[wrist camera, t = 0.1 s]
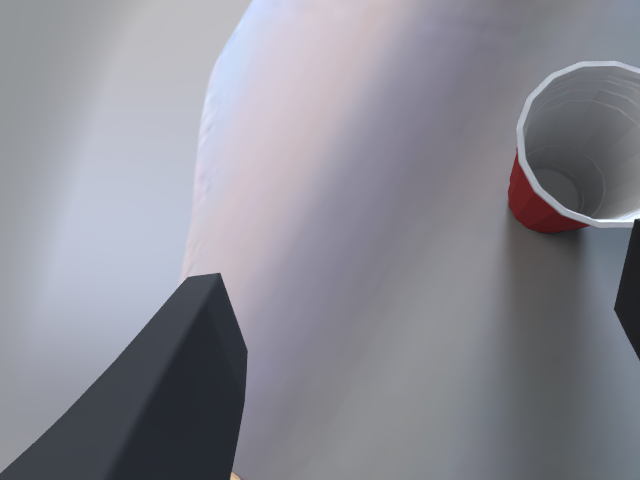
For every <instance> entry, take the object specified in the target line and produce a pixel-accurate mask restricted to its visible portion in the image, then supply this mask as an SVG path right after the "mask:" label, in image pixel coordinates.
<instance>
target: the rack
mask: <svg viewBox="0 0 640 480" xmlns="http://www.w3.org/2000/svg"><path fill="white" fill-rule="evenodd" d="M230 480H241V479H240V478H239V477H238V476H237V475H235V474H234V473H233V472H231V477H230Z"/></svg>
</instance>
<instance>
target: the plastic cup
mask: <svg viewBox="0 0 640 480" xmlns="http://www.w3.org/2000/svg"><path fill="white" fill-rule="evenodd" d="M516 136H517V149H516V150H517V154H516V157H515V161H514V165H513V169H512V173H511V176H510V186H509V189H508V198H509V206H510V209H511V211H512V212H513V214H514V216H515V218H516V219H517V220H518V221H519V222H520V223H522V224H523V225H524V226H525V227H526V228H529V229H532V230H535V231H538V232H542V233H556V232H561V231H565V230H574V229H578V228H583V227H587V226H593V227H596V228H633V224H634V220H635V219H638V218H640V69H639V68H636V67H633V66H630V65H627V64H624V63H621V62H618V61H591V62H579V63H577V64H574V65H572V66H569V67H567V68H565V69H562V70H560V71H557V72H555V73H552V74H550V75H549V76H548V77H547V78H546V79H545V80H544V81H543V82H542V83H541V84H540V85H539V86H538V87H537V88H536V89H535V90H534V91H533V92H532V93H531V94H530V95H529V96H528V97H527V100H526V103H525V105H524V108H523V111H522V114H521V116H520V119H519V122H518V124H517V127H516Z"/></svg>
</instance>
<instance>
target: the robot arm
mask: <svg viewBox="0 0 640 480" xmlns="http://www.w3.org/2000/svg"><path fill="white" fill-rule="evenodd" d="M614 310H615V312H616V314H617V316H618V318H619V320H620V323H621V325H622V327H623V329H624V331H625V333H626V335H627V337H628V339H629V341H630V343H631V345H632V346H633V348H634V350H635V352H636V354H637V356H638V358H639V360H640V218H638V219H635V220H634V224H633V229H632V233H631V237H630V242H629V246H628V250H627V255H626V259H625V263H624V268H623V272H622V276H621V281H620V285H619V290H618V294H617V298H616V303H615V307H614ZM247 353H248V351H247V348H246V345H245V342H244V339H243V337H242V334H241V331H240V328H239V325H238V322H237V319H236V317H235V314H234V311H233V308H232V305H231V302H230V300H229V297H228V294H227V291H226V288H225V285H224V282H223V280H222V277H221V274H220V273H215V274H207V275H199V276H192V277H188V278H187V279H186V280H185V281H184V282H183V283H182V284H181V285H180V286H179V287H178V288H177V290H176V291H175V292H174V293H173V294H172V295H171V297H170V298H169V299H168V300H167V301H166V302H165V304H164V305H163V306H162V307H161V308H160V310H159V311H158V312H157V313H156V314H155V315H154V316H153V318H152V319H151V320H150V321H149V322H148V323H147V325H146V326H145V327H144V328H143V329H142V330H141V332H140V333H139V334H138V335H137V336H136V337H135V338H134V339H133V341H132V342H131V343H130V344H129V345H128V347H126V349H125V350H124V351H123V352H122V353H121V354H120V355H119V357H118V358H117V359H116V360H115V361H114V362H113V363H112V364H111V365H110V367H109V368H108V369H107V370H106V371H105V372H104V373H103V374H102V375H101V376H100V377H99V378H98V379H97V380H96V381H95V383H93V384H92V385H91V386H90V387H89V388H88V390H87V391H86V392H85V393H84V394H83V395H82V396H81V397H80V398H79V399H78V400H77V401H76V402H75V403H74V404H73V405H72V406H71V407H70V408H69V409H68V411H67V412H66V413H65V414H64V415H63V416H62V417H61V418H60V419H58V420H57V422H55V423H54V425H52V426H51V427H50V428H49V429H48V430H47V431H46V432H45V433H44V434H43V435H42V436H41V437H40V438H39V439H38V440H37V441H36V442H35V443H33V444H32V445H31V446H30V447H29V448H28V449H27V450H26V451H25V452H23V453H22V454H21V455H20V456H19V457H18V458H17V459H16V460H15V461H14V462H12V463H11V464H10V465H9V466H8V467H7V468H6V469H5V470H4V471H3V472H2V473H0V480H230V477H231V472H232V467H233V462H234V457H235V451H236V446H237V441H238V435H239V430H240V424H241V419H242V413H243V408H244V402H245V388H246V373H247Z"/></svg>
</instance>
